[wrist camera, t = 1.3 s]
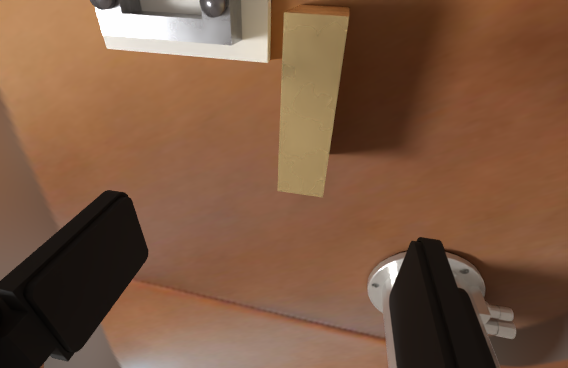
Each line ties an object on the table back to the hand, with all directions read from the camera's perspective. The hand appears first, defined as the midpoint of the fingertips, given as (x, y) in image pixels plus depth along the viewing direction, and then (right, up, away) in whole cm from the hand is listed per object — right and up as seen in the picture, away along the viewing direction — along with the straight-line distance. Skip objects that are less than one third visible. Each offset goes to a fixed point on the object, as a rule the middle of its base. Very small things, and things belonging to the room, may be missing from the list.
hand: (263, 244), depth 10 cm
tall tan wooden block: (+3, +10, +15) cm, 18 cm away
